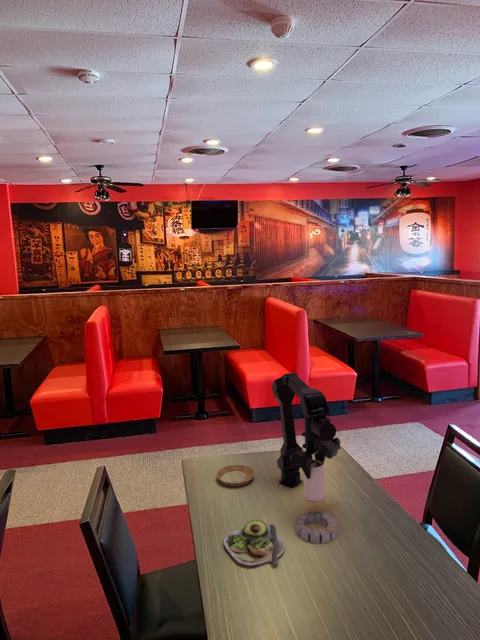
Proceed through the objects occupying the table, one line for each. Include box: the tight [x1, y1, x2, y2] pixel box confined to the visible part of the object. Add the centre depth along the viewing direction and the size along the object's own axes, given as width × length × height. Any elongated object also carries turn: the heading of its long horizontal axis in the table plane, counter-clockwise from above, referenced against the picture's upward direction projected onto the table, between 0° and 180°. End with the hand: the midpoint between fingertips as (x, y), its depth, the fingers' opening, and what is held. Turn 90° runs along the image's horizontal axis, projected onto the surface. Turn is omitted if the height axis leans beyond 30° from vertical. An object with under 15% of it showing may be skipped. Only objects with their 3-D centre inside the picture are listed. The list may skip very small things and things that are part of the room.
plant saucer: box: [216, 464, 256, 487], centre depth 179 cm, size 15×15×3 cm
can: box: [303, 459, 325, 503], centre depth 154 cm, size 6×6×12 cm
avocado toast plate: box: [223, 519, 286, 567], centre depth 137 cm, size 19×18×5 cm
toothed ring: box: [294, 510, 338, 545], centre depth 145 cm, size 13×13×3 cm
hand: (314, 474), depth 154 cm, fingers closed on can, 6 cm apart
